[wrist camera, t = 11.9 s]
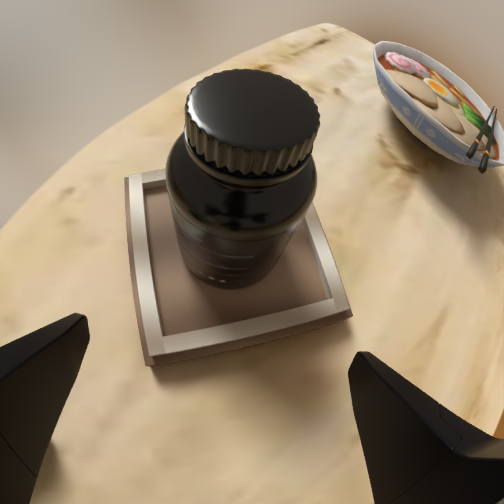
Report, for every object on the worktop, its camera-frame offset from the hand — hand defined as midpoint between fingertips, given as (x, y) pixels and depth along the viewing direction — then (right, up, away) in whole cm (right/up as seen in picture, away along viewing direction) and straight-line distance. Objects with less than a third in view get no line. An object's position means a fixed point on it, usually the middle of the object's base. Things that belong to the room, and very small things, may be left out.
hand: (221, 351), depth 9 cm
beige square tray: (-1, +3, +13) cm, 13 cm away
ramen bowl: (+25, +20, +25) cm, 40 cm away
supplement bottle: (-1, +3, +12) cm, 12 cm away
